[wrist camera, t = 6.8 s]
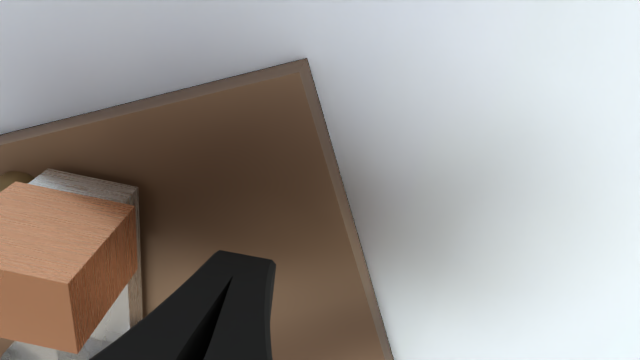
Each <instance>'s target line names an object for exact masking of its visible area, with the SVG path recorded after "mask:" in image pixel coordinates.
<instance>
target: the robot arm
mask: <svg viewBox="0 0 640 360" xmlns="http://www.w3.org/2000/svg"><path fill="white" fill-rule="evenodd" d="M275 272H276V264H275V263H274V261H273V260H271V259H266V258H260V257H255V256H250V255H244V254H239V253H233V252H228V251H222V250H218V251H217V252H215V253H214V254H213V255H212V256H211V257H210V258H209V259H208V260H207V261H206V262H205V263H204V264H203V265H202V266H201V267H200V268H199V269H198V270H197V271H196V272H195V273H194V274H193V275H192V276H191V277H190V278H189V279H188V280H186V281H185V282H184V283H183V284H182V285H181V286H180V287H179V288H178V289H177V290H176V291H175V292H173V293H172V294H171V295H170V296H169V297H168V298H167V299H165V300H164V301H163V302H162V303H161V304H160V305H159V306H158V307H156V308H155V309H154V310H153V311H152V312H151V313H149V314H148V315H147V316H146V317H144V318H143V319H142V320H141V321H139V322H138V323H137V324H136V325H134V326H133V327H132V328H131V329H129V330H128V331H127V332H126V333H124V334H123V335H122V336H120V337H119V338H118V339H117V340H115V341H114V342H113V343H111V344H110V345H108V346H107V347H106V348H104V349H103V350H102V351H100V352H99V353H97V354H96V355H95V356H93V357H92V358H90V359H89V360H273V359H272V349H271V335H270V318H271V309H272V300H273V291H274V282H275Z"/></svg>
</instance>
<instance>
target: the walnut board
mask: <svg viewBox="0 0 640 360" xmlns="http://www.w3.org/2000/svg"><path fill="white" fill-rule="evenodd" d="M47 169H52V170H57V171H62V172H67V173H72V174H77V175H82V176H87V177H91V178H96V179H101V180H106V181H111V182H116V183H121V184H125V185H130V186H135V187H138V197H139V225H140V252H141V280H142V308H143V318H144V317H146V316H147V315H148V314H149V313H151V312H152V311H153V310H154V309H155V308H156V307H158V306H159V305H160V304H161V303H162V302H163V301H164V300H165V299H167V298H168V297H169V296H170V295H171V294H172V293H173V292H175V291H176V290H177V289H178V288H179V287H180V286H181V285H182V284H183V283H184V282H185V281H186V280H188V279H189V278H190V277H191V276H192V275H193V274H194V273H195V272H196V271H197V270H198V269H199V268H200V267H201V266H202V265H203V264H204V263H205V262H206V261H207V260H208V259H209V258H210V257H211V256H212V255H213V254H214V253H215V252H217V251H218V250H222V251H228V252H233V253H239V254H244V255H250V256H255V257H260V258H266V259H271V260H273V261H274V263H275V264H276V272H275V282H274V291H273V300H272V309H271V318H270V335H271V349H272V359H273V360H394V359H393V356H392V352H391V349H390V345H389V342H388V338H387V335H386V331H385V328H384V324H383V321H382V317H381V314H380V310H379V307H378V304H377V300H376V297H375V293H374V290H373V286H372V283H371V279H370V276H369V272H368V269H367V265H366V262H365V258H364V255H363V251H362V248H361V244H360V241H359V238H358V234H357V231H356V227H355V224H354V220H353V217H352V213H351V210H350V206H349V203H348V199H347V196H346V192H345V189H344V185H343V182H342V178H341V175H340V172H339V168H338V165H337V161H336V158H335V154H334V151H333V147H332V144H331V140H330V137H329V133H328V130H327V126H326V123H325V119H324V116H323V112H322V109H321V106H320V102H319V99H318V95H317V92H316V88H315V85H314V81H313V78H312V74H311V71H310V67H309V64H308V60H307V58H305V59H301V60H298V61H294V62H290V63H286V64H282V65H278V66H274V67H270V68H266V69H262V70H258V71H254V72H250V73H246V74H242V75H238V76H234V77H230V78H226V79H222V80H218V81H214V82H210V83H206V84H202V85H198V86H194V87H190V88H186V89H182V90H178V91H174V92H170V93H166V94H162V95H158V96H154V97H150V98H146V99H142V100H138V101H134V102H130V103H126V104H122V105H118V106H114V107H110V108H106V109H102V110H98V111H94V112H90V113H86V114H82V115H78V116H74V117H70V118H66V119H62V120H58V121H54V122H50V123H46V124H42V125H38V126H34V127H30V128H26V129H22V130H18V131H14V132H10V133H6V134H2V135H0V192H1V191H3V190H4V189H6V188H7V187H8V186H10V185H11V184H13V183H14V182H15V181H17V182H22V183H26V184H28V183H29V182H31V181H32V180H33V179H35V178H36V177H37V176H39V175H40V174H41V173H43V172H44V171H45V170H47ZM13 342H14V340H9V339H5V338H0V359H1V357H2V355H3V354H4V352H5V351H6V350H7V349H8V348H9V347H10V346H11V344H12V343H13Z"/></svg>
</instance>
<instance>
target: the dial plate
mask: <svg viewBox="0 0 640 360" xmlns="http://www.w3.org/2000/svg"><path fill="white" fill-rule="evenodd" d="M142 319H143V308H142V280H141V252H140V225H139V197H138V187H135V186H130V185H125V184H121V183H116V182H111V181H106V180H101V179H96V178H91V177H87V176H82V175H77V174H72V173H67V172H62V171H57V170H52V169H47V170H45V171H44V172H43V173H41V174H40V175H39V176H37V177H36V178H35V179H33V180H32V181H31V182H29V183H28V184H26V183H22V182H17V181H15V182H14V183H13V184H11V185H10V186H8V187H7V188H6V189H4V190H3V191H1V192H0V338H5V339H9V340H14V342H13V343H12V344H11V346H10V347H9V348H8V349H7V350H6V351H5V352H4V354H3V355H2V357H1V359H0V360H89V359H90V358H92V357H93V356H95V355H96V354H97V353H99V352H100V351H102V350H103V349H104V348H106V347H107V346H108V345H110V344H111V343H113V342H114V341H115V340H117V339H118V338H119V337H120V336H122V335H123V334H124V333H126V332H127V331H128V330H129V329H131V328H132V327H133V326H134V325H136V324H137V323H138V322H139V321H141V320H142Z"/></svg>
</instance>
